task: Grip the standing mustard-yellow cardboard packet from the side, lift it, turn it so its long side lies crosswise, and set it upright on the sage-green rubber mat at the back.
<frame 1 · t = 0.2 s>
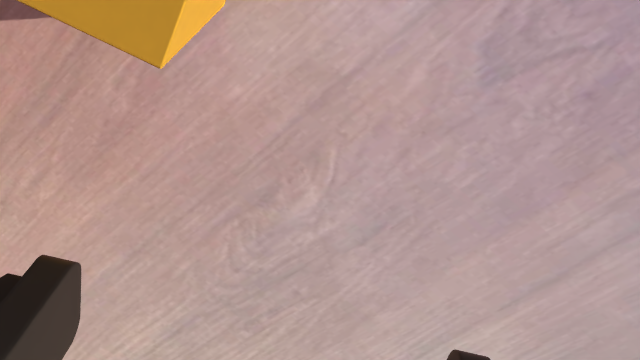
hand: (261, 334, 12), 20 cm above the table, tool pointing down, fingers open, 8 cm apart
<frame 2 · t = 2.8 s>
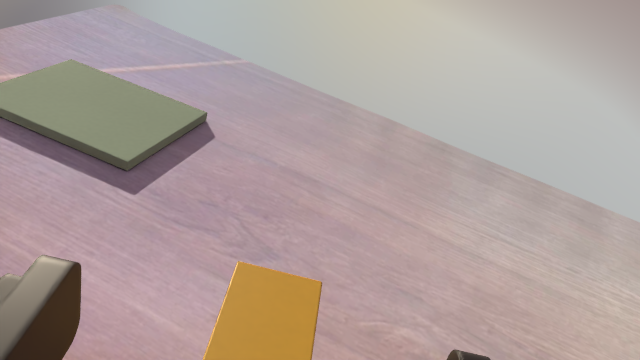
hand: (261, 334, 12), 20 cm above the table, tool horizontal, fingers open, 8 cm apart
mat: (95, 112, 59), on the table
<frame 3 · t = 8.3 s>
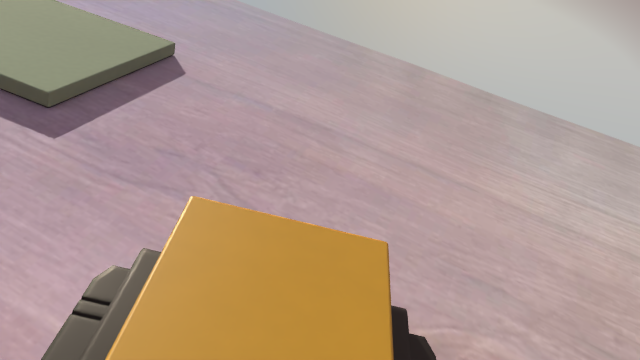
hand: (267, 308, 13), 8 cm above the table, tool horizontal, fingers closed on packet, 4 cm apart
mat: (15, 38, 42), on the table
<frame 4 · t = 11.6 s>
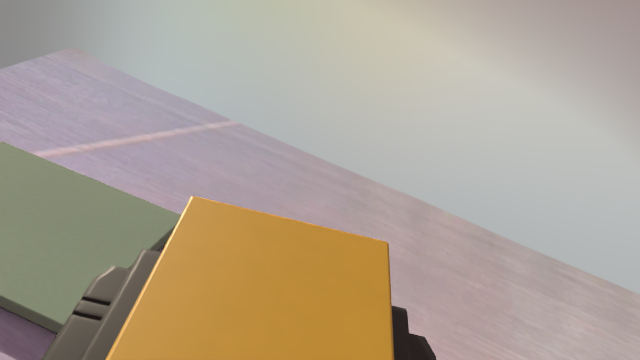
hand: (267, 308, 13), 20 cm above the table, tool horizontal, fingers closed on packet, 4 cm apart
mat: (28, 228, 43), on the table
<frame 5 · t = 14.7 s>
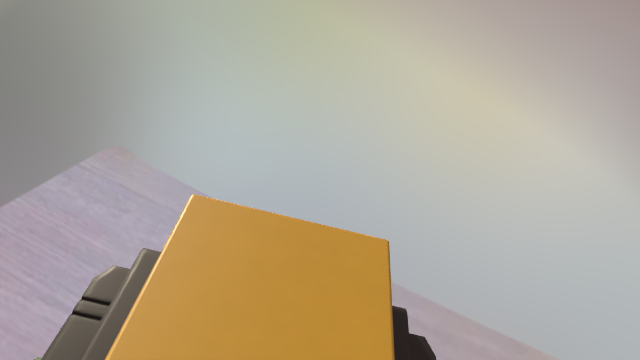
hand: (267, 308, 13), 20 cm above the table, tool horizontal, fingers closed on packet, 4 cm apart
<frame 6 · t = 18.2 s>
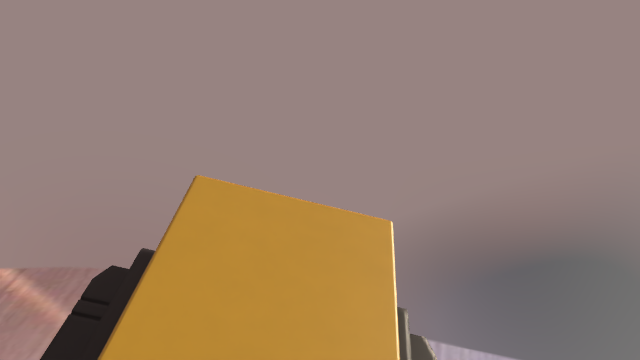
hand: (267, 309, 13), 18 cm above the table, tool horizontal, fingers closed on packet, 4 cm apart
when the fingers open (9 cm above the table, at t = 21.2 s): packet stays where it is, resting on mat.
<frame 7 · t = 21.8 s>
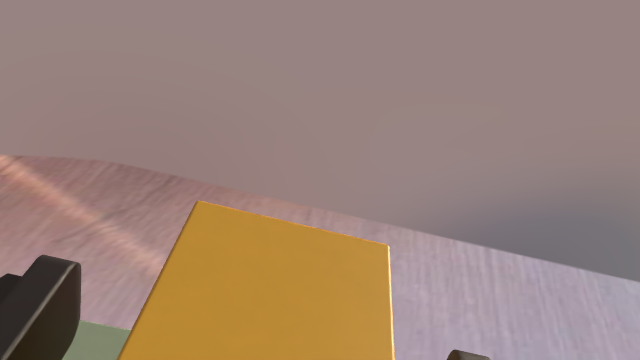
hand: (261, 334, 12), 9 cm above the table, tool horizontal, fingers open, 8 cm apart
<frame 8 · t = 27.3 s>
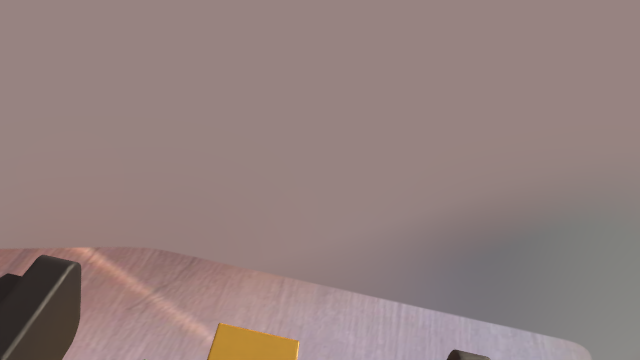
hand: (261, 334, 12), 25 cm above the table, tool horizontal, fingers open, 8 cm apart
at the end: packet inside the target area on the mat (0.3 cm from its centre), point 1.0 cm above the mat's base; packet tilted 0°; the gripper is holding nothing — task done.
